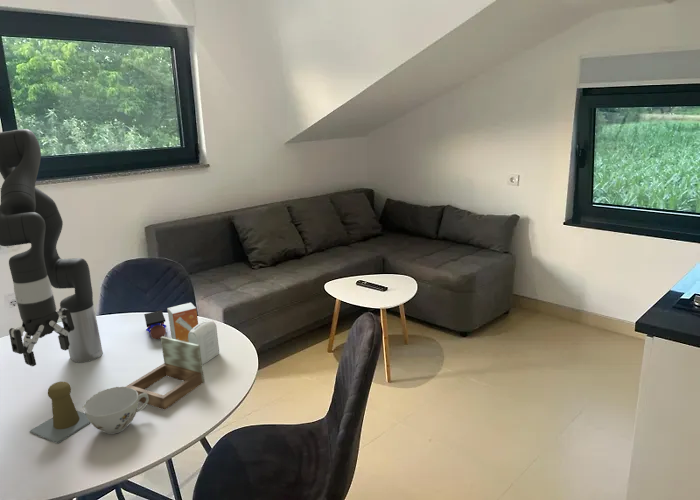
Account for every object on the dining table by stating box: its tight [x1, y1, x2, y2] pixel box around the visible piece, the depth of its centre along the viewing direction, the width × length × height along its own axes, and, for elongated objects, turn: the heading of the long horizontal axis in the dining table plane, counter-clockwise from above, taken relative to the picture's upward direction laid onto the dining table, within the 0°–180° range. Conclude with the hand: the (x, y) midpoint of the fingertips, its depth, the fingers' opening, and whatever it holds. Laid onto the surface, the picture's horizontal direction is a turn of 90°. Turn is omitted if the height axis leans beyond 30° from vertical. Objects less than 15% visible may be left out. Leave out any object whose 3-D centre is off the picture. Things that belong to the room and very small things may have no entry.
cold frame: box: [125, 336, 205, 411], centre depth 146 cm, size 14×15×12 cm
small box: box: [167, 302, 199, 342], centre depth 174 cm, size 8×6×13 cm
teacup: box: [82, 386, 149, 435], centre depth 131 cm, size 15×12×8 cm
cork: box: [47, 381, 79, 429], centre depth 132 cm, size 6×6×11 cm
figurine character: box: [143, 309, 167, 340], centre depth 183 cm, size 7×8×15 cm
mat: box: [29, 410, 91, 444], centre depth 133 cm, size 11×11×1 cm
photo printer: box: [188, 320, 220, 366], centre depth 162 cm, size 10×4×12 cm, turn 155°
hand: (49, 357), depth 127 cm, fingers open, 8 cm apart
